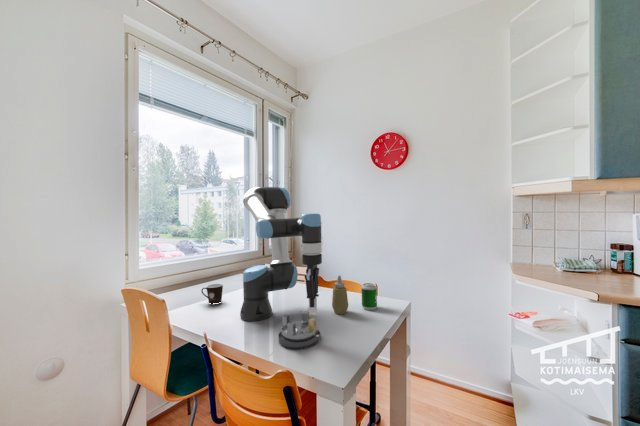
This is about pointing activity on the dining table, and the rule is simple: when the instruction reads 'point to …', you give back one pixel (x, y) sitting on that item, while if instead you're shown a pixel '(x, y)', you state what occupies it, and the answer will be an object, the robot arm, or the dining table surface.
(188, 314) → the dining table surface
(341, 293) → the squeeze bottle
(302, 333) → the four-lug metal disc
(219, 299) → the coffee mug
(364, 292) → the soda can
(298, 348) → the mounting flange
